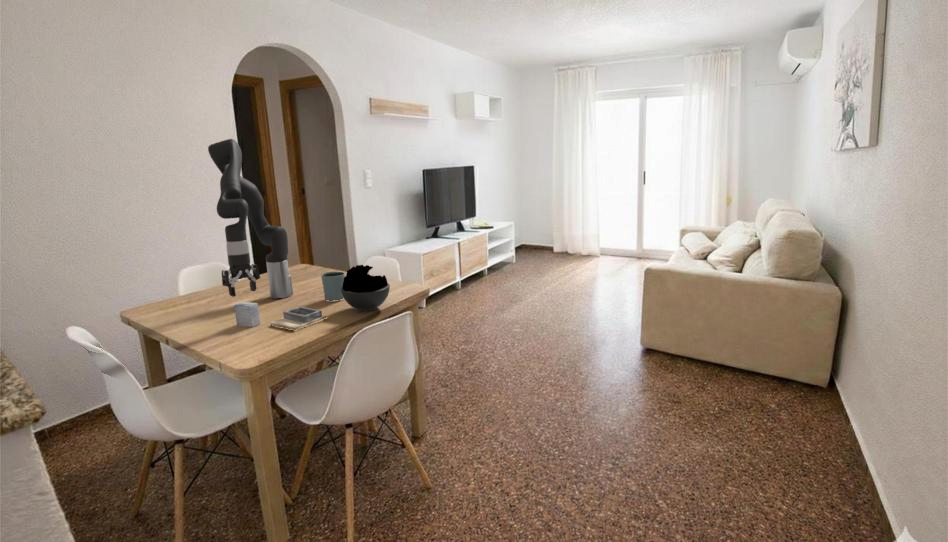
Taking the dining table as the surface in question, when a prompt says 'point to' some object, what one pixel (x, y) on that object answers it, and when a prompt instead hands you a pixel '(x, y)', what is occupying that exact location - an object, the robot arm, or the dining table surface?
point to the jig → (298, 318)
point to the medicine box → (247, 314)
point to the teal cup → (333, 285)
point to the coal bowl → (364, 288)
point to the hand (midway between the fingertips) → (243, 293)
